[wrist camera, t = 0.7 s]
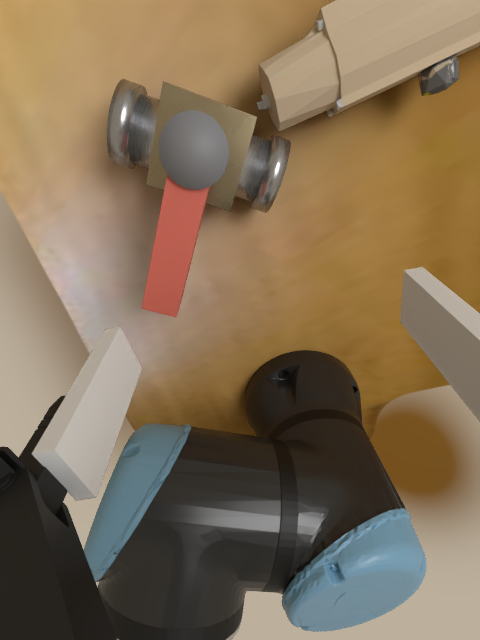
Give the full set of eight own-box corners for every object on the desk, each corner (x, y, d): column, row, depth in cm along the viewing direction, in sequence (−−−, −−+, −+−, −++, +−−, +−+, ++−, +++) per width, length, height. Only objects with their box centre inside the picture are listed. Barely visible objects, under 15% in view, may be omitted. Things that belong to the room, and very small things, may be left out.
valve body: (284, 135, 29) (299, 131, 23) (259, 211, 32) (267, 224, 26) (137, 80, 27) (112, 60, 21) (126, 167, 30) (101, 171, 24)
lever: (175, 107, 22) (166, 99, 19) (235, 129, 23) (237, 125, 20) (141, 288, 28) (130, 308, 25) (190, 301, 29) (185, 322, 26)
